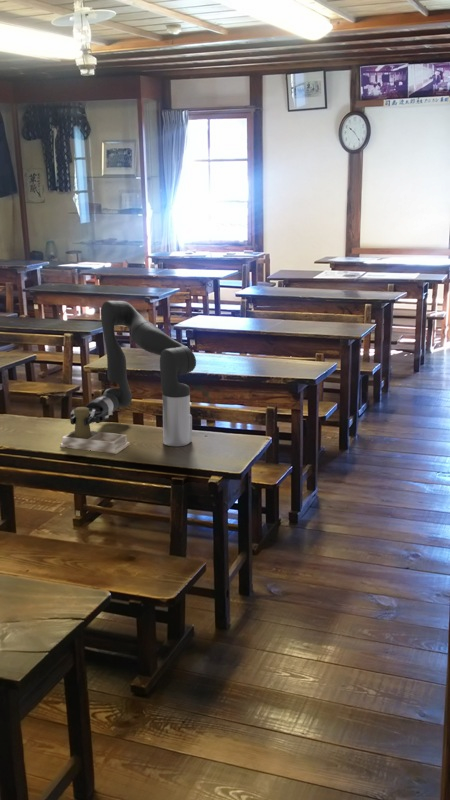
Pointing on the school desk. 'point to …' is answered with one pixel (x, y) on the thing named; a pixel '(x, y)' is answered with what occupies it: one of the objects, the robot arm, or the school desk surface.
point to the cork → (81, 423)
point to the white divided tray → (97, 442)
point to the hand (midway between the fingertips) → (78, 422)
